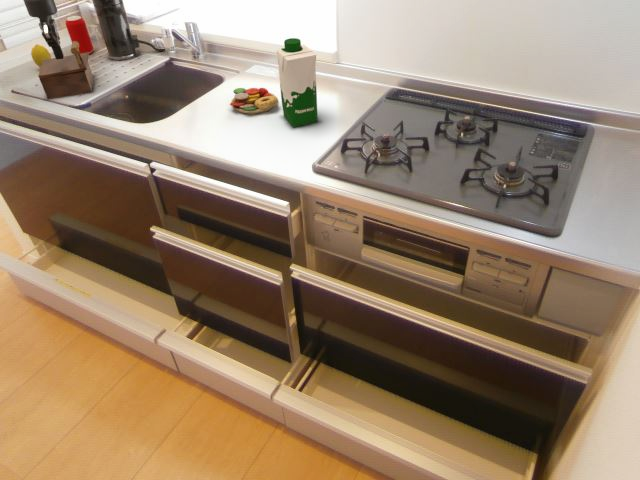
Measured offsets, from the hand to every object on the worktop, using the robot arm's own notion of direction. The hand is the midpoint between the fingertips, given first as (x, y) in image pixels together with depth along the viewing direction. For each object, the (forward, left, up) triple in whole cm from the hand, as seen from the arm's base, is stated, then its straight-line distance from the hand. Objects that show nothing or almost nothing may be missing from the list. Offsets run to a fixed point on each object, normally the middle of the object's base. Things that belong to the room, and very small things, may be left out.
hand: (60, 58), depth 151 cm
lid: (0, 0, -3) cm, 3 cm away
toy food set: (-51, +34, -9) cm, 62 cm away
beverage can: (-3, -30, -9) cm, 32 cm away
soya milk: (-61, +47, -9) cm, 78 cm away
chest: (0, 0, -9) cm, 9 cm away
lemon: (+9, -20, -9) cm, 24 cm away
